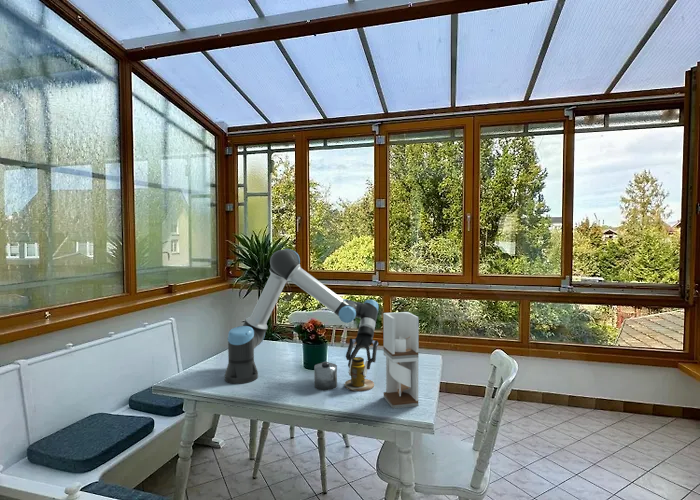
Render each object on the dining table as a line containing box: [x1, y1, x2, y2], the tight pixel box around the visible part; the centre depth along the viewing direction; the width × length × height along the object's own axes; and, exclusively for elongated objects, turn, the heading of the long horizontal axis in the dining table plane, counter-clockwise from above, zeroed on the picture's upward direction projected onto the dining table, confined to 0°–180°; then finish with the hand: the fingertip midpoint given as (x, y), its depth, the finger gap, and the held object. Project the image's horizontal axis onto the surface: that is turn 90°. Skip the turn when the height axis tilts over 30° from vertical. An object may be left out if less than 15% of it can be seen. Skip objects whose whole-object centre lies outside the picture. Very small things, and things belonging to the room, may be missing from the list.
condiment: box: [343, 356, 368, 391], centre depth 177 cm, size 7×8×12 cm
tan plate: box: [344, 378, 375, 392], centre depth 180 cm, size 13×13×1 cm
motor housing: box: [313, 361, 338, 392], centre depth 180 cm, size 10×10×10 cm
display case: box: [382, 311, 420, 409], centre depth 162 cm, size 11×11×35 cm
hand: (357, 374), depth 177 cm, fingers closed on condiment, 6 cm apart
